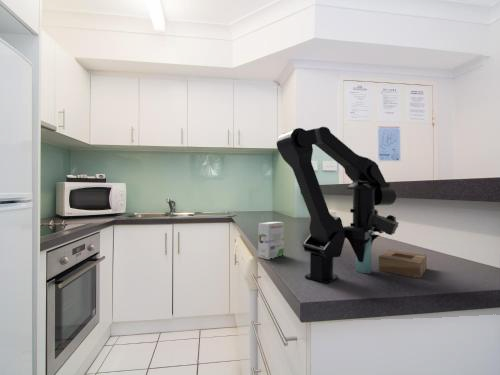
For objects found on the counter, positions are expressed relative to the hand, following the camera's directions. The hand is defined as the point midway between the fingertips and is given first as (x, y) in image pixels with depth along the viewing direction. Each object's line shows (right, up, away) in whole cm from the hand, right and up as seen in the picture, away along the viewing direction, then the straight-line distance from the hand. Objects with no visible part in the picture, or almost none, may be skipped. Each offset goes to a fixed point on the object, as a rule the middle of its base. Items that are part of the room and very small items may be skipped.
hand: (363, 260), depth 72 cm
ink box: (-25, -3, +15) cm, 30 cm away
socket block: (+13, -3, +2) cm, 13 cm away
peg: (0, -3, 0) cm, 3 cm away
